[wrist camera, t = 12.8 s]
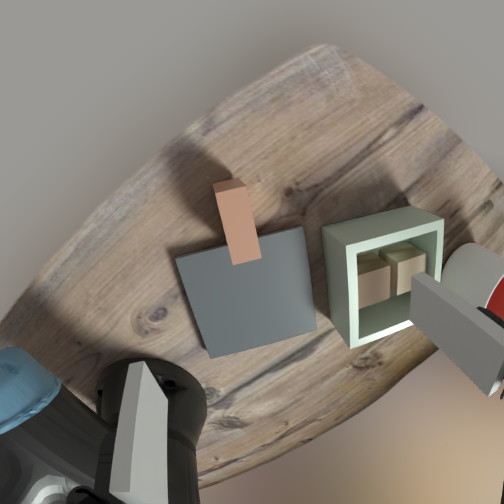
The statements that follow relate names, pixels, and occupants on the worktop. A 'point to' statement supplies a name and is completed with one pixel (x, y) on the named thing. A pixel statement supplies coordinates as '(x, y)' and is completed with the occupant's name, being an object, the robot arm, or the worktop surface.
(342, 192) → the worktop surface
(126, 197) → the worktop surface
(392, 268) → the part
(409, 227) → the tub
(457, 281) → the cup
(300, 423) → the worktop surface
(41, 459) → the robot arm
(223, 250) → the lid
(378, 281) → the part
